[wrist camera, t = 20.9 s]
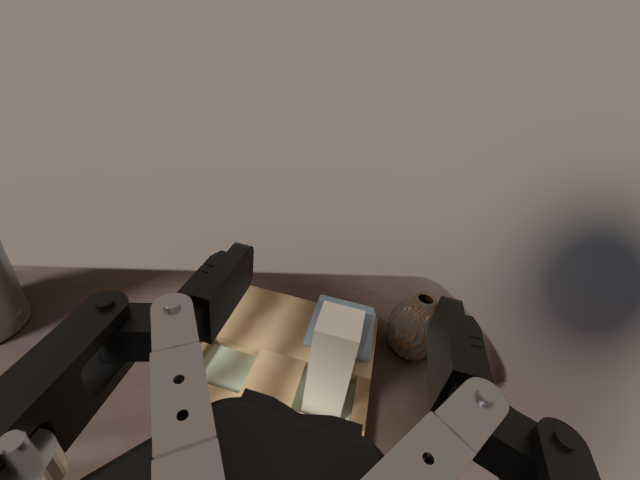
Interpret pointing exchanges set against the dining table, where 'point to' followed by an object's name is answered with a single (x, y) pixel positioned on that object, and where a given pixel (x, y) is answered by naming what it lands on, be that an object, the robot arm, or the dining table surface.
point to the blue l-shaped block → (367, 329)
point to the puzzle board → (275, 354)
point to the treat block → (332, 358)
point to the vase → (411, 326)
